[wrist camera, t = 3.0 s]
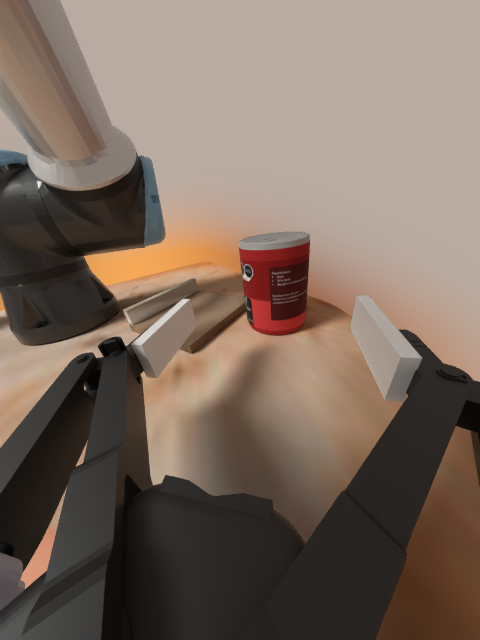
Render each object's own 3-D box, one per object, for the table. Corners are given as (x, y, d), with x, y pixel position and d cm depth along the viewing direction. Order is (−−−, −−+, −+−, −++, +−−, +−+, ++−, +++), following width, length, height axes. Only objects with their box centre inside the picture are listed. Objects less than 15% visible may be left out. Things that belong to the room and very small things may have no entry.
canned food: (259, 306, 32) (253, 234, 26) (310, 311, 28) (315, 229, 23) (237, 331, 26) (225, 245, 21) (298, 342, 22) (302, 241, 17)
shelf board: (131, 330, 30) (121, 309, 28) (195, 295, 39) (190, 278, 38) (192, 353, 23) (184, 328, 21) (250, 304, 33) (248, 284, 31)
